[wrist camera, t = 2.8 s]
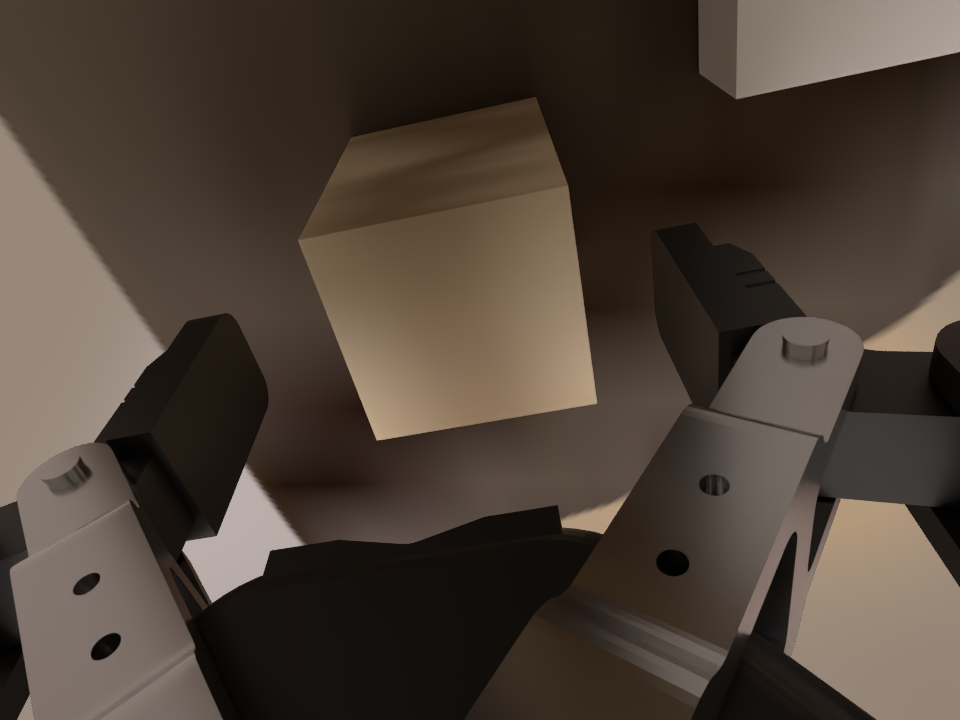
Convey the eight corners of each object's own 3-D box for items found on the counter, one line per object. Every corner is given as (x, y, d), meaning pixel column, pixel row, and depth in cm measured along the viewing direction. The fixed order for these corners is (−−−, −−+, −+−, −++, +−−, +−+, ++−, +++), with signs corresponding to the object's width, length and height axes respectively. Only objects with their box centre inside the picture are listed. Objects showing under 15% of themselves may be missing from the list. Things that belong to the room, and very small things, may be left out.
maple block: (535, 96, 15) (568, 185, 10) (561, 266, 18) (596, 403, 13) (351, 137, 16) (297, 240, 11) (401, 297, 18) (376, 440, 13)
